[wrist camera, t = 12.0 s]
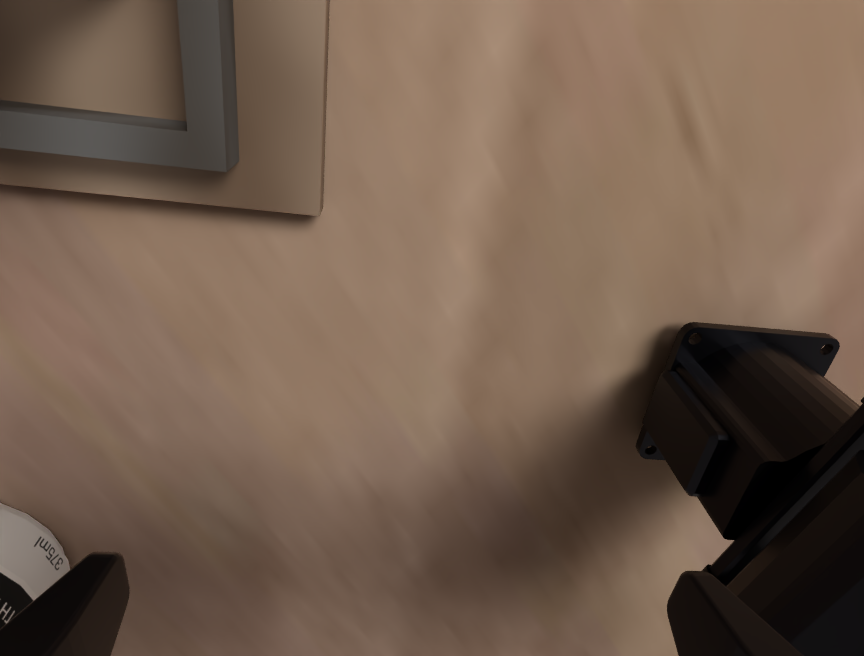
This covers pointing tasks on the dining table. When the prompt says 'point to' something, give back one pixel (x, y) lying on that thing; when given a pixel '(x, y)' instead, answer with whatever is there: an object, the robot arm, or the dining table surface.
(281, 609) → the dining table surface
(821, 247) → the dining table surface
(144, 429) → the dining table surface
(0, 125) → the seat board
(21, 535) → the supplement can
